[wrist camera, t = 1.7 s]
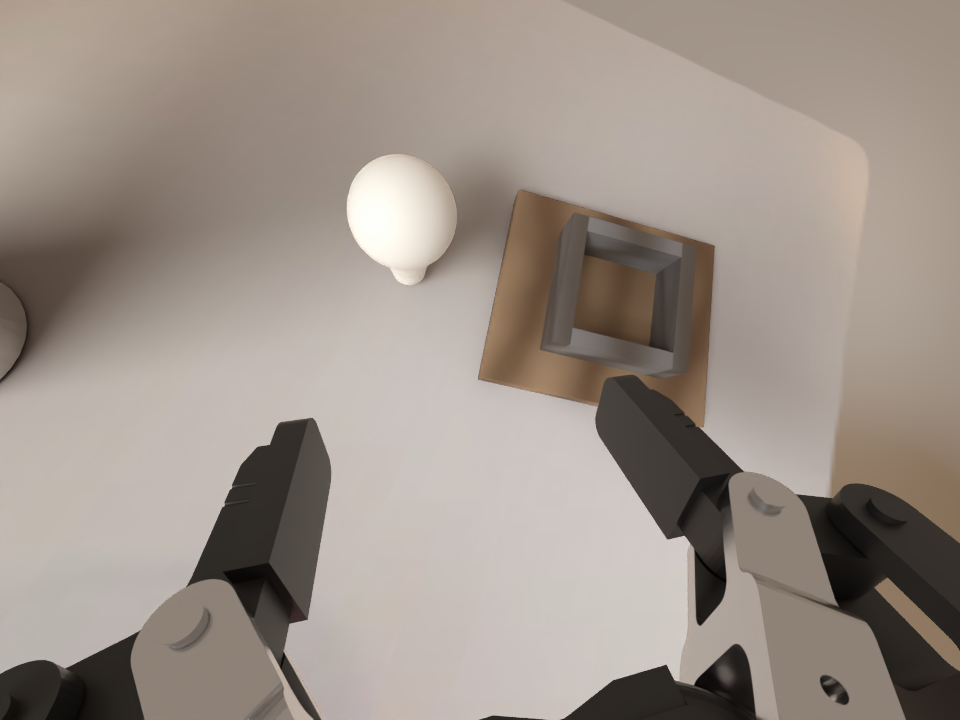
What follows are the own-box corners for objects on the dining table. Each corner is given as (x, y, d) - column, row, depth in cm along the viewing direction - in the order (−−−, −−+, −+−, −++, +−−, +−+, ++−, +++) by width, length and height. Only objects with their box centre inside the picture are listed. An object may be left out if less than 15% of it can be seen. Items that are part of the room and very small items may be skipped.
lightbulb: (383, 229, 28) (357, 108, 18) (456, 251, 29) (474, 148, 18) (359, 298, 27) (316, 213, 16) (436, 320, 28) (444, 251, 17)
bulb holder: (477, 379, 27) (487, 369, 23) (514, 200, 31) (529, 162, 26) (689, 427, 29) (736, 426, 25) (701, 253, 33) (744, 226, 28)
